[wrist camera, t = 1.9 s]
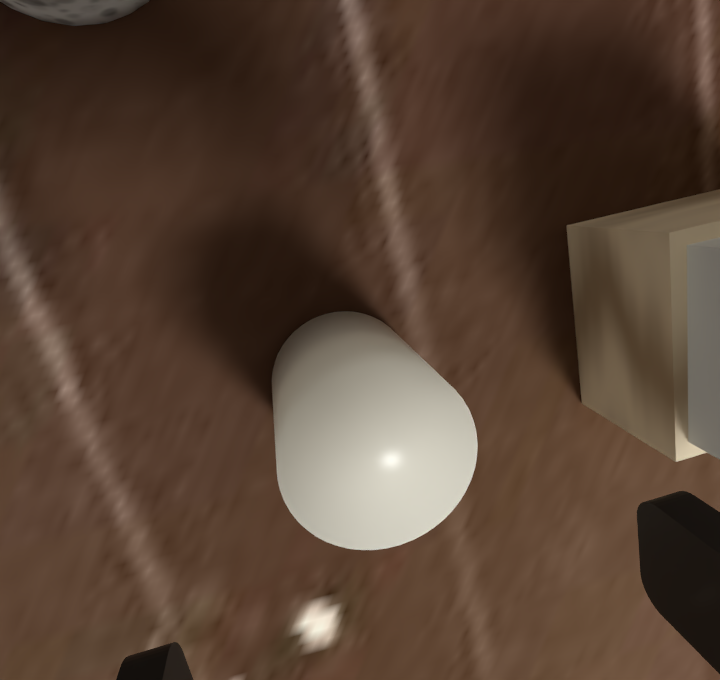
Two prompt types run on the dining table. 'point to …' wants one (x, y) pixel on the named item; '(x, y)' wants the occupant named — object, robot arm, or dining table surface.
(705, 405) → the grey top block
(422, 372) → the white cylinder
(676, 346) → the oak base block
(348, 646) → the dining table surface
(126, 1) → the mug
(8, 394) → the dining table surface
